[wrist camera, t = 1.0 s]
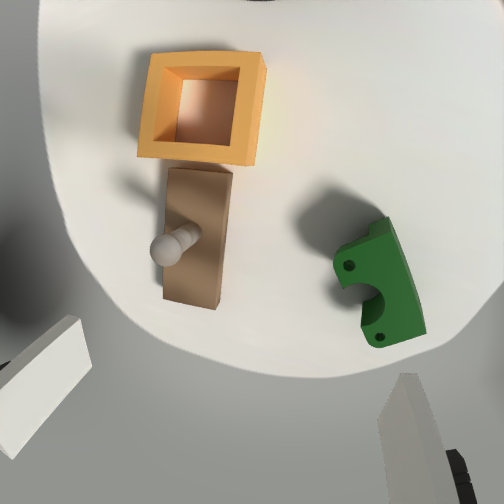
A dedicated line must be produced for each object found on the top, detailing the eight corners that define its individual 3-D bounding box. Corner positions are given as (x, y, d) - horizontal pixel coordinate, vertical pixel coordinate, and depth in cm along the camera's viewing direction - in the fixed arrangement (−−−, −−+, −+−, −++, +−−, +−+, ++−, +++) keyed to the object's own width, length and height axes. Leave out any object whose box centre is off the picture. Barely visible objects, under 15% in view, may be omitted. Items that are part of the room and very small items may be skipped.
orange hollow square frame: (172, 67, 27) (151, 53, 22) (266, 69, 25) (260, 52, 21) (160, 156, 30) (136, 157, 25) (254, 165, 28) (245, 166, 24)
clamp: (345, 240, 34) (321, 238, 26) (392, 220, 31) (383, 211, 23) (377, 338, 32) (362, 366, 24) (425, 322, 29) (427, 347, 21)
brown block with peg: (176, 167, 30) (128, 172, 21) (232, 173, 29) (203, 178, 20) (169, 291, 34) (130, 333, 25) (219, 301, 33) (192, 350, 24)
